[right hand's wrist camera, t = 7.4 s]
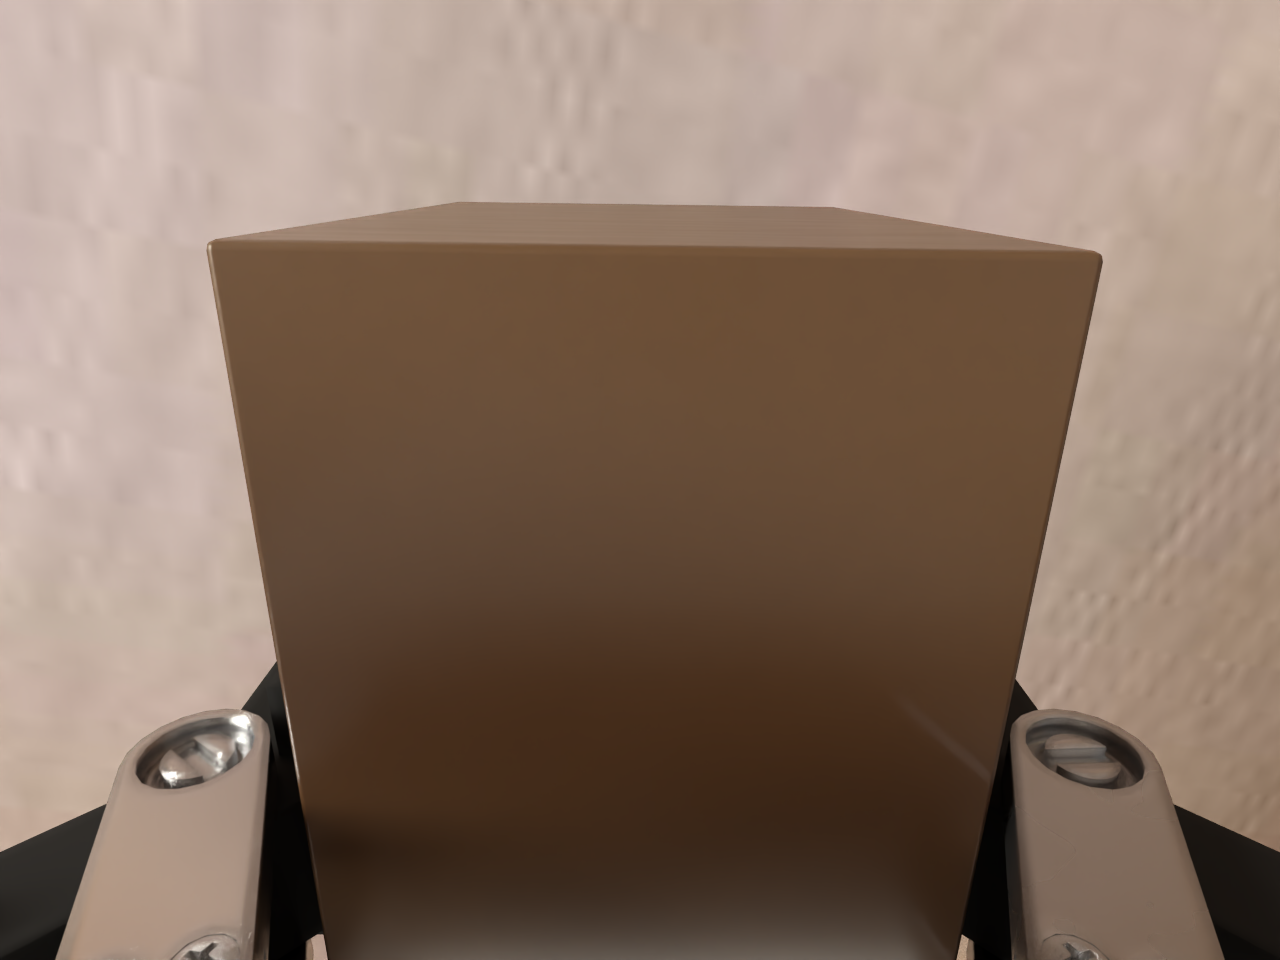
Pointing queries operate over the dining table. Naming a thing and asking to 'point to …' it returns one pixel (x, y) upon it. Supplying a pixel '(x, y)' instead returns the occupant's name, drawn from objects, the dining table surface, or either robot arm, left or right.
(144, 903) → the right robot arm
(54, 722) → the dining table surface
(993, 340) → the post
